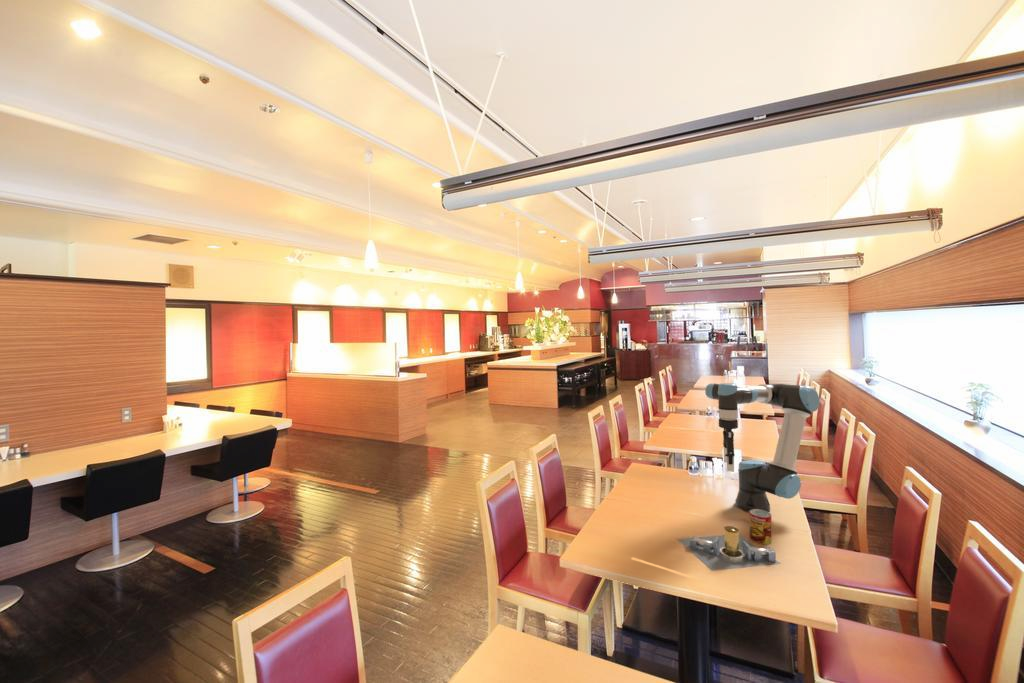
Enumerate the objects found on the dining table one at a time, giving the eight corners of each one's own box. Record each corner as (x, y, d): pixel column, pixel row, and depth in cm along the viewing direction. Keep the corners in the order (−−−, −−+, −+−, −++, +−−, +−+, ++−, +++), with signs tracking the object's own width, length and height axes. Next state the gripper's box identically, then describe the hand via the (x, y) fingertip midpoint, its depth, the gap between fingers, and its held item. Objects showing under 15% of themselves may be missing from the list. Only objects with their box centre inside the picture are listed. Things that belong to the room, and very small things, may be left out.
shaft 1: (719, 551, 165) (719, 537, 165) (716, 556, 161) (716, 542, 161) (692, 543, 171) (692, 530, 171) (689, 548, 167) (689, 535, 167)
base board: (738, 535, 179) (737, 533, 179) (781, 565, 155) (781, 563, 155) (677, 541, 175) (677, 539, 175) (711, 572, 151) (711, 570, 151)
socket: (734, 550, 165) (734, 545, 165) (749, 562, 156) (749, 556, 156) (715, 552, 164) (715, 547, 164) (729, 564, 155) (728, 558, 155)
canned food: (745, 539, 176) (745, 511, 176) (758, 535, 179) (757, 507, 179) (763, 547, 168) (762, 518, 168) (776, 543, 172) (775, 514, 171)
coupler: (738, 555, 161) (737, 527, 161) (739, 561, 157) (739, 532, 157) (724, 553, 163) (723, 525, 163) (725, 559, 159) (725, 530, 159)
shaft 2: (748, 561, 157) (748, 547, 157) (742, 554, 162) (742, 541, 162) (776, 562, 156) (776, 548, 156) (770, 556, 160) (770, 542, 160)
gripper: (716, 413, 195) (717, 458, 195) (720, 423, 172) (721, 474, 172) (734, 414, 192) (735, 459, 193) (741, 424, 169) (742, 476, 169)
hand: (728, 466), depth 182 cm, fingers open, 13 cm apart
